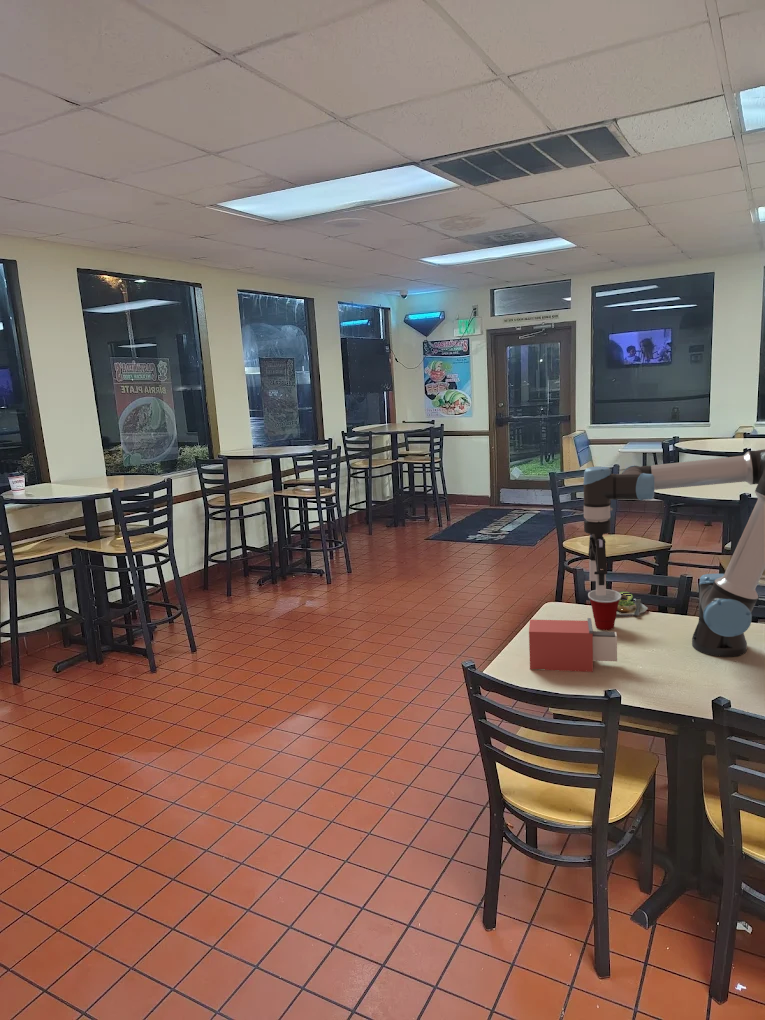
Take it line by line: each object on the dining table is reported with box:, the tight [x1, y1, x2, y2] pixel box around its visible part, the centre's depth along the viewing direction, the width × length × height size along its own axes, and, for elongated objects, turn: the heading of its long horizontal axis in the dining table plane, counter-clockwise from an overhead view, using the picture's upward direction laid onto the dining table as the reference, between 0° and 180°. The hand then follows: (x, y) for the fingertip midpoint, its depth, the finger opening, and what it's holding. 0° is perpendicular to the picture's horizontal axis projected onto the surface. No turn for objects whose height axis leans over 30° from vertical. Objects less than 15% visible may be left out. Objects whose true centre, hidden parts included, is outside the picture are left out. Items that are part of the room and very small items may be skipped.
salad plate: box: [616, 591, 648, 618], centre depth 244 cm, size 19×18×5 cm
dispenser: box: [528, 617, 594, 673], centre depth 203 cm, size 18×10×13 cm, turn 76°
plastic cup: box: [587, 588, 621, 631], centre depth 228 cm, size 11×11×12 cm
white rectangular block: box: [593, 630, 618, 662], centre depth 201 cm, size 18×3×8 cm, turn 76°
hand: (597, 587), depth 204 cm, fingers open, 13 cm apart
